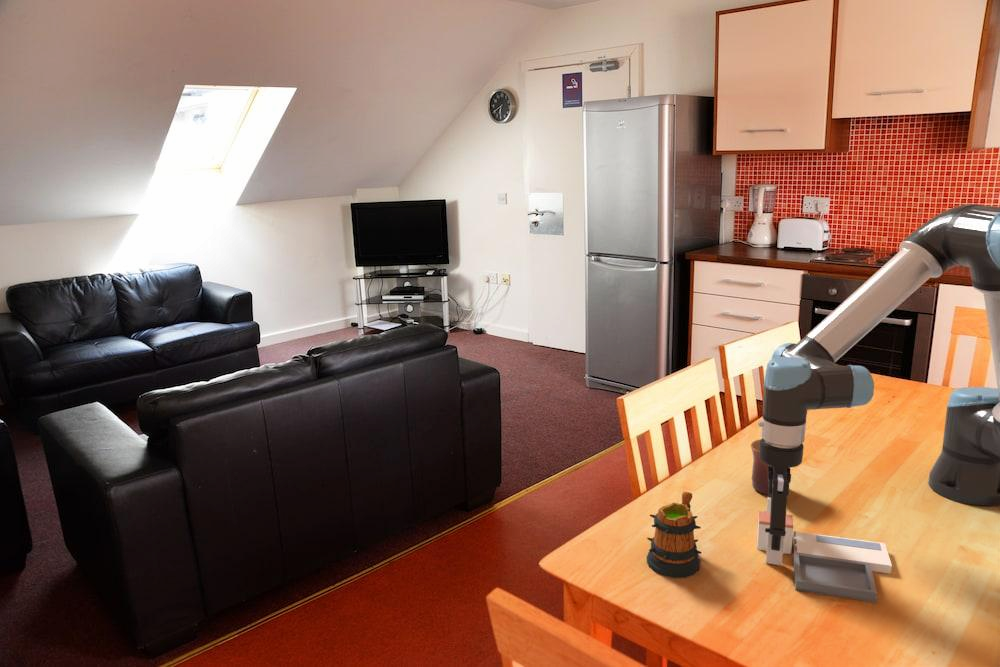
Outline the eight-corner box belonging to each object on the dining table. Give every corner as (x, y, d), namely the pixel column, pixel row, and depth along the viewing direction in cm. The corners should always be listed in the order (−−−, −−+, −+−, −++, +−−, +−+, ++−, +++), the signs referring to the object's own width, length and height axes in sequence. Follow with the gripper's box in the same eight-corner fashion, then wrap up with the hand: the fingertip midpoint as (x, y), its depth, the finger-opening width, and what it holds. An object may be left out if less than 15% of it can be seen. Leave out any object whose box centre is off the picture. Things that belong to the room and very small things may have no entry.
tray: (868, 571, 134) (869, 562, 133) (876, 602, 125) (877, 593, 124) (793, 560, 138) (793, 552, 137) (795, 590, 129) (796, 580, 128)
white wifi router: (884, 550, 140) (885, 542, 140) (890, 573, 133) (892, 565, 132) (793, 538, 145) (793, 530, 145) (794, 559, 138) (795, 551, 137)
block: (790, 543, 143) (792, 515, 142) (790, 554, 140) (793, 525, 138) (757, 539, 145) (759, 511, 144) (757, 549, 142) (759, 521, 140)
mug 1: (691, 585, 131) (694, 525, 128) (636, 569, 136) (638, 511, 133) (712, 550, 142) (715, 495, 139) (661, 537, 147) (663, 483, 144)
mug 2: (745, 479, 170) (748, 437, 168) (786, 482, 169) (789, 440, 166) (752, 504, 159) (755, 459, 156) (795, 507, 157) (799, 462, 155)
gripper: (760, 415, 149) (752, 512, 155) (760, 465, 127) (751, 576, 132) (800, 419, 147) (791, 517, 153) (807, 470, 125) (797, 583, 130)
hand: (773, 545), depth 143 cm, fingers open, 12 cm apart
